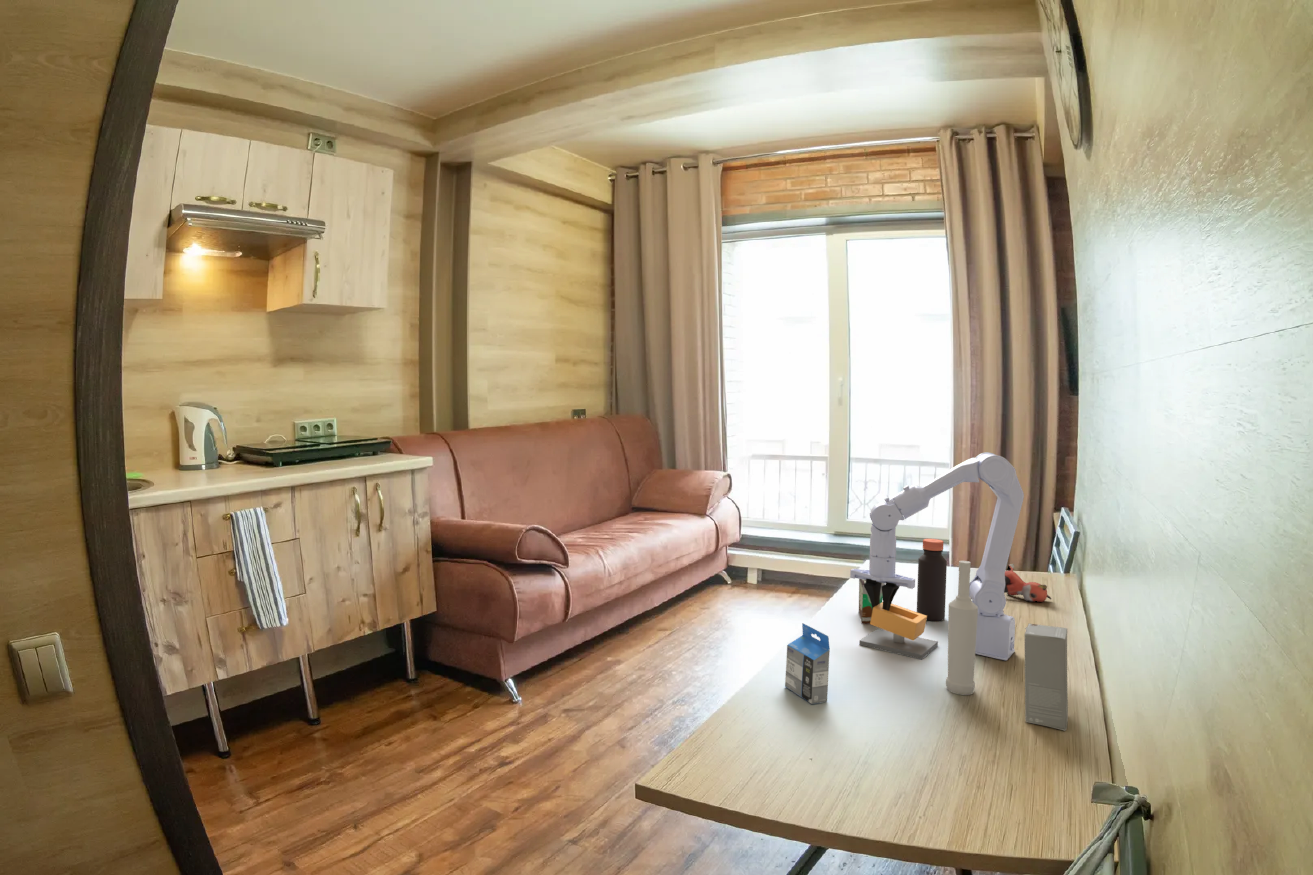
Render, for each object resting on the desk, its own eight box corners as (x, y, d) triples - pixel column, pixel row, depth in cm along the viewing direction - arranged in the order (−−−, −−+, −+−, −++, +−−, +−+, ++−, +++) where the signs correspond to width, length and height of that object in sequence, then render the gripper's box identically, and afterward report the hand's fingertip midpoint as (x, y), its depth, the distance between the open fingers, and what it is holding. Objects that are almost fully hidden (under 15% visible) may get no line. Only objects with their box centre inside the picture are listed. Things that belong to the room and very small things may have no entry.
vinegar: (916, 619, 180) (918, 541, 179) (916, 612, 186) (919, 536, 185) (944, 622, 178) (947, 544, 176) (944, 615, 184) (947, 539, 183)
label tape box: (784, 687, 137) (785, 624, 136) (801, 683, 139) (803, 622, 138) (811, 705, 129) (812, 639, 128) (829, 701, 131) (831, 636, 130)
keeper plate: (937, 645, 161) (938, 619, 161) (921, 659, 152) (922, 631, 152) (877, 632, 170) (878, 607, 169) (859, 644, 161) (860, 618, 161)
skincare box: (1066, 732, 119) (1071, 640, 119) (1019, 721, 123) (1023, 632, 122) (1068, 713, 127) (1072, 626, 126) (1023, 704, 130) (1027, 619, 130)
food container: (888, 627, 174) (889, 587, 173) (862, 625, 175) (863, 585, 174) (882, 612, 186) (883, 575, 185) (858, 611, 187) (859, 573, 186)
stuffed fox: (1009, 567, 209) (1055, 571, 201) (1004, 603, 205) (1051, 608, 197) (1002, 556, 204) (1049, 560, 197) (997, 593, 200) (1045, 598, 192)
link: (923, 632, 161) (927, 615, 160) (913, 640, 155) (916, 623, 155) (881, 616, 167) (884, 600, 166) (869, 624, 161) (873, 607, 161)
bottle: (973, 686, 138) (978, 560, 137) (976, 697, 133) (981, 566, 132) (944, 682, 140) (949, 557, 138) (946, 693, 135) (951, 563, 134)
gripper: (845, 553, 164) (843, 611, 165) (908, 563, 155) (906, 624, 156) (857, 548, 170) (856, 604, 170) (919, 557, 161) (916, 616, 161)
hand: (880, 613), depth 163 cm, fingers closed on link, 2 cm apart
